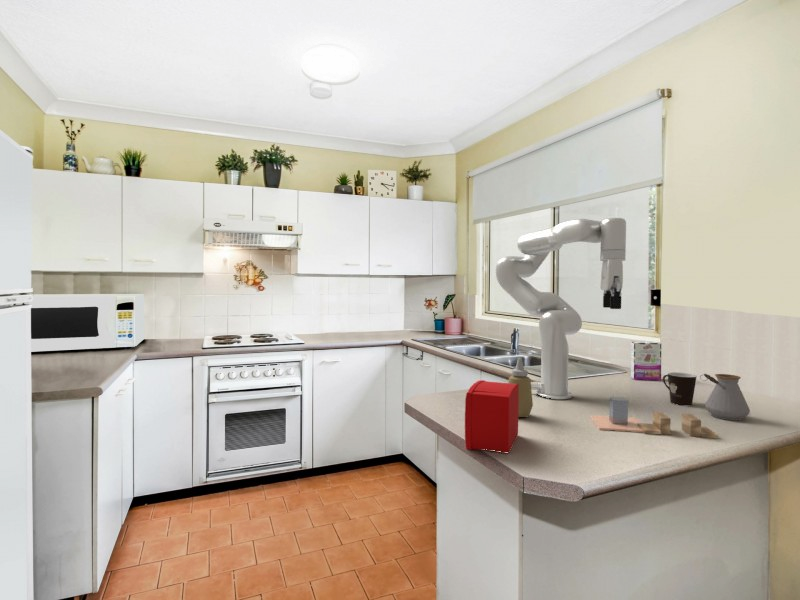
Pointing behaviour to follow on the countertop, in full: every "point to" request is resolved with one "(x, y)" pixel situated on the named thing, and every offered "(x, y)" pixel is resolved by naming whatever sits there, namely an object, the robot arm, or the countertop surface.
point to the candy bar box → (646, 361)
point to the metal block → (618, 410)
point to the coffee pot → (726, 398)
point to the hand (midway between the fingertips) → (611, 308)
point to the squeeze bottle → (522, 388)
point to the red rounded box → (491, 416)
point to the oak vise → (688, 425)
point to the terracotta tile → (606, 424)
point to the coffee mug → (681, 387)
